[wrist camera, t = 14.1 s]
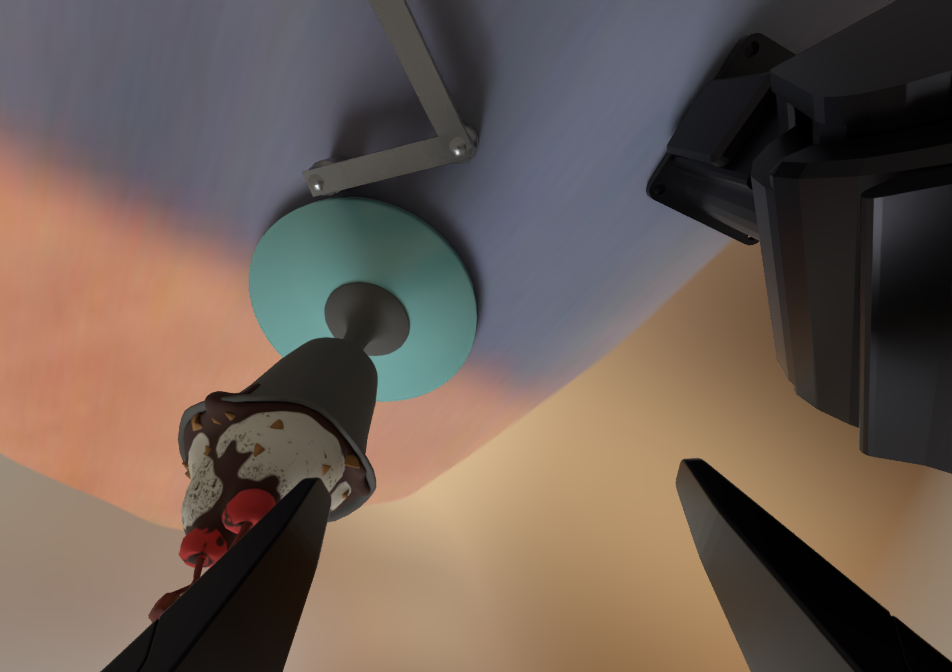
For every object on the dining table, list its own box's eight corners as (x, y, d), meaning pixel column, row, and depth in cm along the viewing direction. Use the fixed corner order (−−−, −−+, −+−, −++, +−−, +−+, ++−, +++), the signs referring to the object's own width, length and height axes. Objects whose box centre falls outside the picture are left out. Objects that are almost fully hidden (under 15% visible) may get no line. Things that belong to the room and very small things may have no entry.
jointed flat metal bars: (534, -8, 14) (543, -36, 11) (446, 231, 19) (439, 250, 16) (343, -115, 12) (302, -176, 10) (305, 171, 17) (271, 182, 15)
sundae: (402, 253, 18) (196, 570, 6) (437, 357, 22) (358, 696, 9) (288, 277, 19) (-101, 590, 7) (339, 372, 23) (146, 697, 10)
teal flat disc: (514, 255, 19) (515, 261, 18) (436, 413, 26) (434, 424, 25) (268, 151, 17) (256, 153, 16) (252, 354, 24) (243, 363, 23)
